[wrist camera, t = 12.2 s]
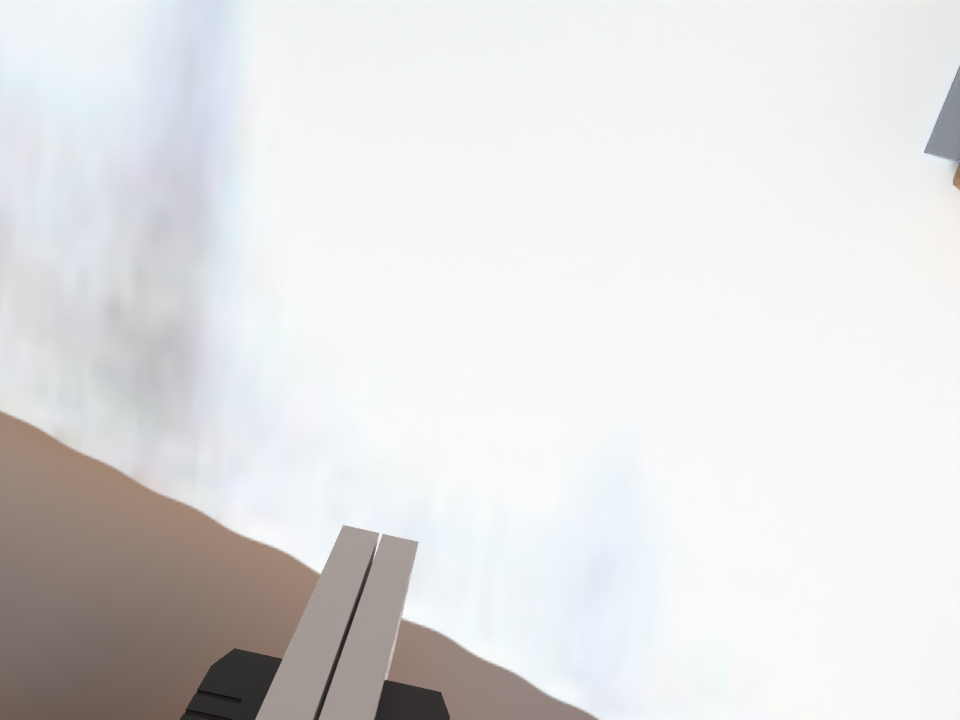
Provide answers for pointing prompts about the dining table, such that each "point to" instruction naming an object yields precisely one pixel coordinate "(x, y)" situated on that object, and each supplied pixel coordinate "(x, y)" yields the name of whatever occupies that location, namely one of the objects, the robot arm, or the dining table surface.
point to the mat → (948, 127)
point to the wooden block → (957, 178)
